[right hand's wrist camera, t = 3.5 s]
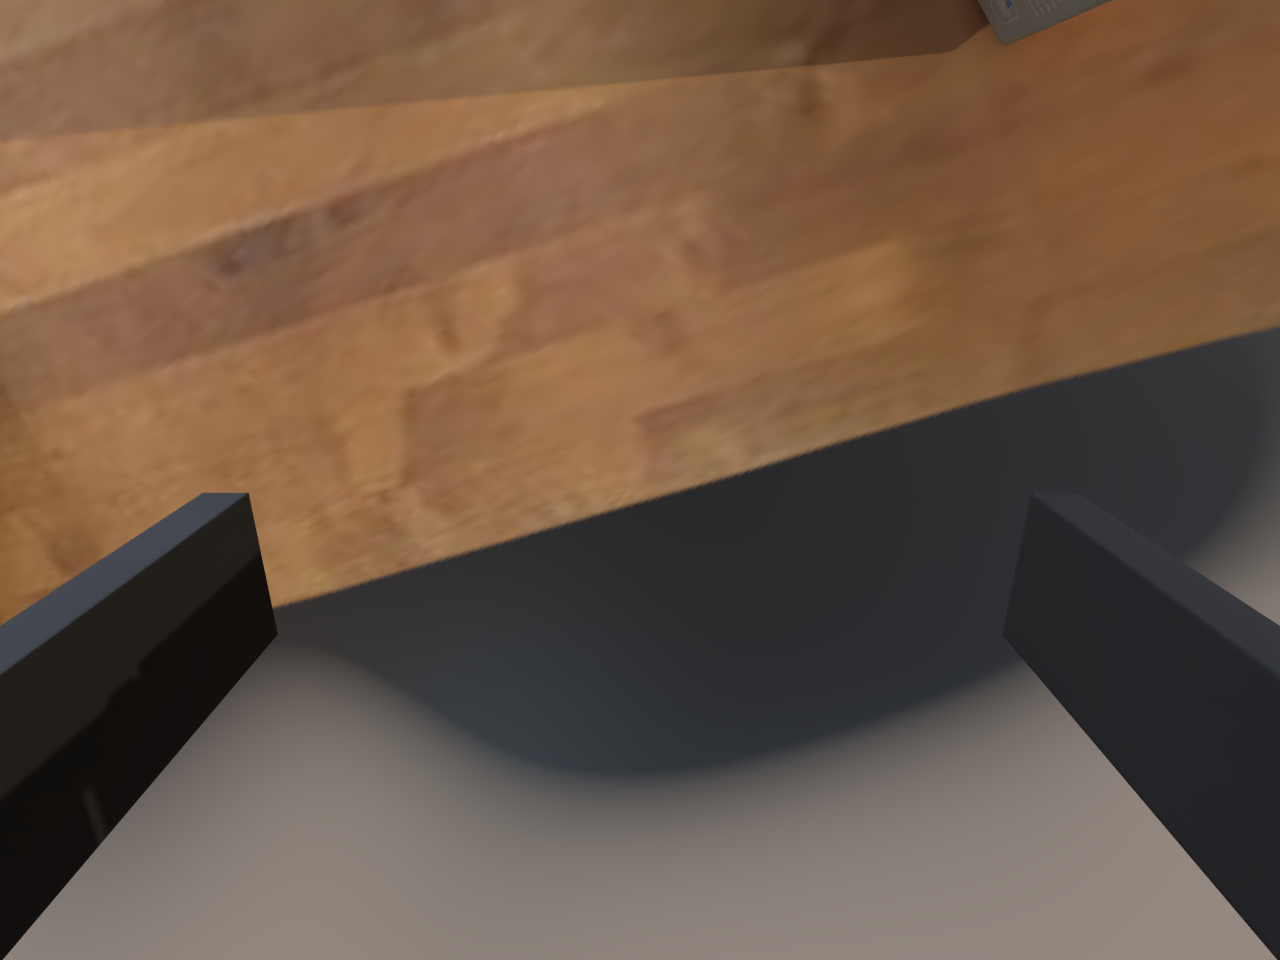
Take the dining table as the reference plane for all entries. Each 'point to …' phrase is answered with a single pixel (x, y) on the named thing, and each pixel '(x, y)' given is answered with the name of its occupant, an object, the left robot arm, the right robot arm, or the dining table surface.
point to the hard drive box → (1031, 15)
